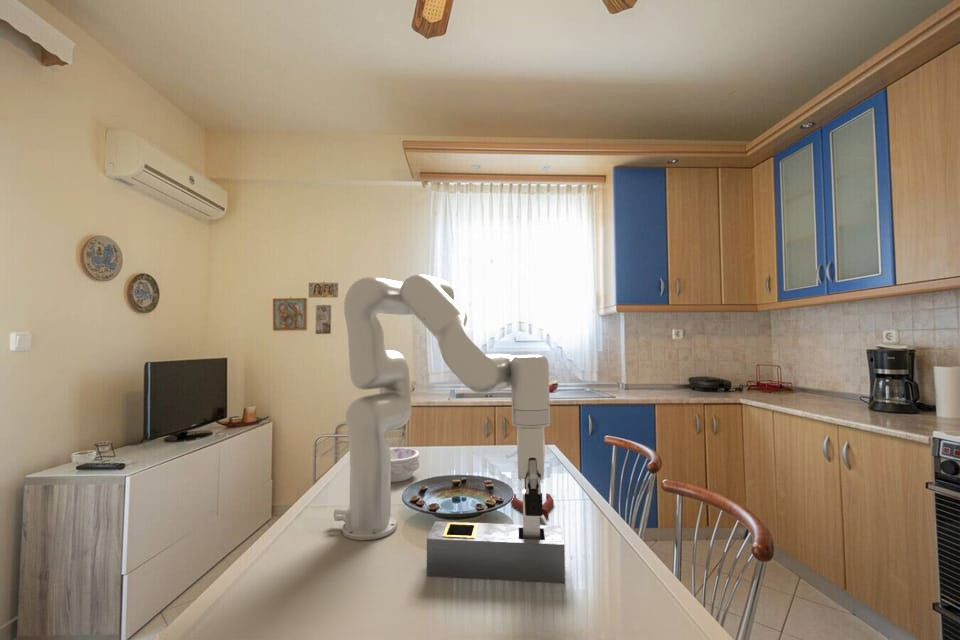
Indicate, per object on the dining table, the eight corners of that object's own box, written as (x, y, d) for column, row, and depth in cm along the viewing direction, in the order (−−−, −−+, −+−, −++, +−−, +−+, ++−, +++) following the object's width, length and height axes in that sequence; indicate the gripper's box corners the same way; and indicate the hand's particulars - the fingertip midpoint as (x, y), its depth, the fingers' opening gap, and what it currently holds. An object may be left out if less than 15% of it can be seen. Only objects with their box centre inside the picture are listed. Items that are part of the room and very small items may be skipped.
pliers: (517, 533, 101) (517, 522, 101) (510, 501, 121) (510, 492, 121) (566, 533, 101) (566, 521, 102) (551, 501, 121) (551, 491, 122)
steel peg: (523, 563, 83) (522, 494, 83) (523, 555, 86) (522, 489, 87) (540, 564, 83) (539, 495, 83) (539, 555, 86) (538, 489, 86)
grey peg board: (426, 576, 82) (426, 537, 83) (435, 555, 90) (435, 520, 91) (564, 583, 80) (564, 543, 80) (561, 561, 88) (560, 525, 88)
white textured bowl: (362, 483, 136) (363, 457, 136) (386, 469, 151) (387, 446, 151) (406, 487, 132) (406, 461, 132) (427, 472, 146) (427, 449, 147)
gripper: (512, 410, 94) (514, 490, 94) (510, 425, 77) (513, 523, 76) (547, 410, 94) (549, 490, 93) (553, 425, 77) (556, 524, 76)
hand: (533, 505), depth 85 cm, fingers open, 9 cm apart
